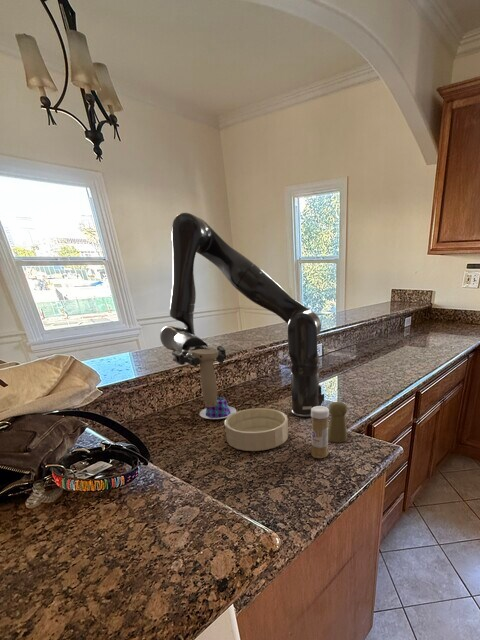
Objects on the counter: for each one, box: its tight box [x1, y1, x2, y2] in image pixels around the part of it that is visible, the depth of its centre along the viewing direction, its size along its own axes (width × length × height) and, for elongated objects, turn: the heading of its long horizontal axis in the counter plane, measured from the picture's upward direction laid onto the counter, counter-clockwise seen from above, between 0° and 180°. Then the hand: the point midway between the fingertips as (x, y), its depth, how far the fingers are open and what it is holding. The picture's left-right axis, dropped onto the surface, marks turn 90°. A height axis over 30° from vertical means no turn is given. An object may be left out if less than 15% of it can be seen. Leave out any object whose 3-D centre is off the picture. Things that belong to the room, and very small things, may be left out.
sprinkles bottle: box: [310, 405, 330, 459], centre depth 92 cm, size 5×5×14 cm
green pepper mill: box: [328, 401, 348, 444], centre depth 102 cm, size 6×6×11 cm
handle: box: [192, 349, 218, 408], centre depth 94 cm, size 5×6×15 cm
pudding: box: [199, 396, 237, 420], centre depth 118 cm, size 12×12×5 cm
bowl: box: [224, 407, 289, 452], centre depth 102 cm, size 18×18×6 cm
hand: (208, 360), depth 90 cm, fingers closed on handle, 6 cm apart
